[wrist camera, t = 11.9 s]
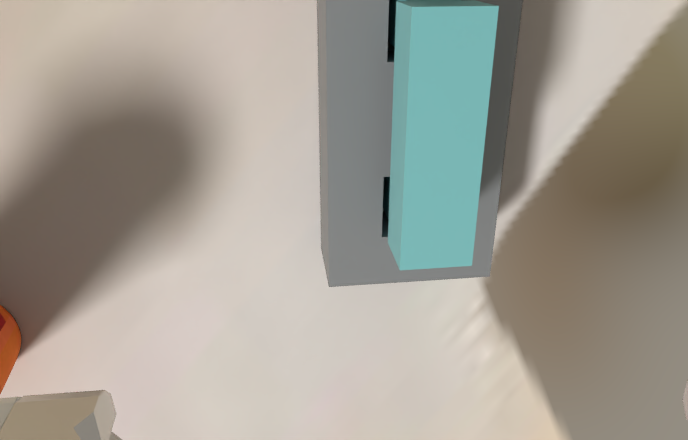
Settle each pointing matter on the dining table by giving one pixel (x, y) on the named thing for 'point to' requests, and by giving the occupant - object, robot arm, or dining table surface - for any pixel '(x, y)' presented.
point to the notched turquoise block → (437, 128)
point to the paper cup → (8, 344)
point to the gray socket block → (388, 142)
